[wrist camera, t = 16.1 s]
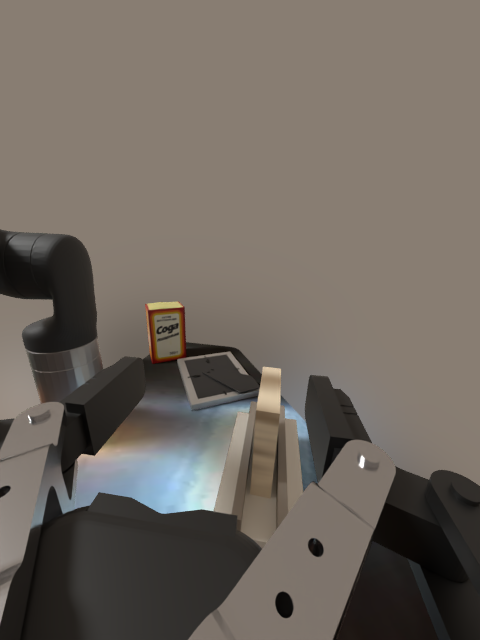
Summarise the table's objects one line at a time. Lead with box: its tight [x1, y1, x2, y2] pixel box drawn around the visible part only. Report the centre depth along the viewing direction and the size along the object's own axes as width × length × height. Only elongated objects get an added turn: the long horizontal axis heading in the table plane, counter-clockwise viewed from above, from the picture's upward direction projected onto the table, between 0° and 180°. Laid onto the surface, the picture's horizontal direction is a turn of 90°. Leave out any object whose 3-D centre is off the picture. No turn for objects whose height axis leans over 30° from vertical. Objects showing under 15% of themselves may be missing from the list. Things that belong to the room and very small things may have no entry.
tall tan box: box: [250, 367, 281, 498], centre depth 30 cm, size 9×2×12 cm, turn 170°
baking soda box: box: [145, 302, 186, 364], centre depth 68 cm, size 10×6×16 cm
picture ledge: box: [214, 402, 303, 549], centre depth 32 cm, size 18×10×8 cm, turn 171°
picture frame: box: [177, 352, 260, 411], centre depth 60 cm, size 16×3×21 cm
